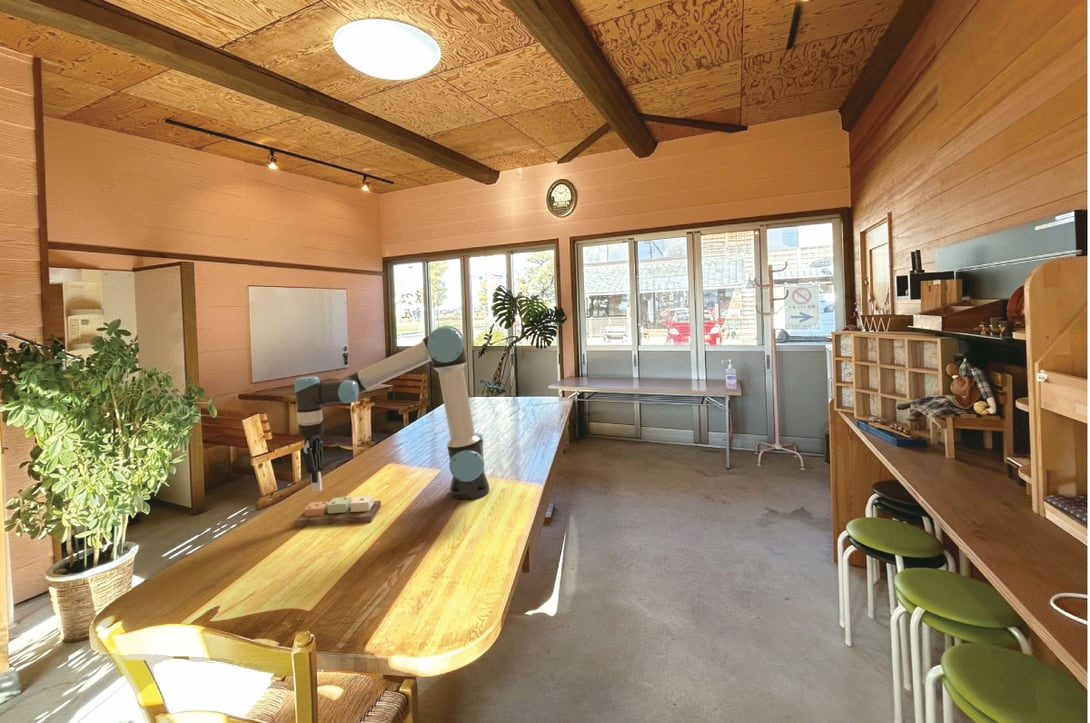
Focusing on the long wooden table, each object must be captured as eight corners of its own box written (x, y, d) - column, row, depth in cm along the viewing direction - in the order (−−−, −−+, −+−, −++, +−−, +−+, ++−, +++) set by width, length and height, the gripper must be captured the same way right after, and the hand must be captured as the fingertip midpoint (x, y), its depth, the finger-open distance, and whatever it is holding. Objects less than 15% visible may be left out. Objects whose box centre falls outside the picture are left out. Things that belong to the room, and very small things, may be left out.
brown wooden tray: (381, 506, 168) (380, 500, 168) (371, 522, 155) (370, 515, 155) (311, 510, 166) (311, 504, 166) (296, 526, 153) (295, 520, 153)
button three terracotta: (329, 509, 163) (329, 501, 163) (323, 516, 157) (322, 508, 157) (312, 510, 163) (311, 502, 162) (304, 518, 157) (304, 509, 156)
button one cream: (373, 503, 164) (373, 495, 164) (368, 510, 158) (368, 502, 158) (356, 504, 164) (355, 496, 164) (350, 512, 158) (350, 503, 158)
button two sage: (351, 505, 164) (351, 496, 163) (346, 512, 158) (345, 503, 157) (334, 506, 163) (333, 497, 163) (327, 513, 157) (327, 504, 157)
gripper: (307, 419, 163) (313, 484, 165) (290, 428, 150) (297, 498, 152) (329, 417, 164) (335, 482, 166) (314, 426, 151) (321, 497, 153)
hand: (317, 490), depth 159 cm, fingers closed
